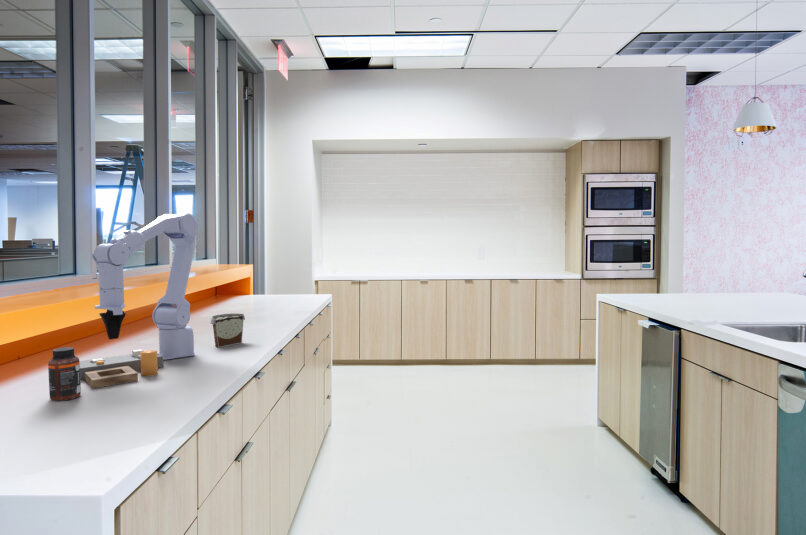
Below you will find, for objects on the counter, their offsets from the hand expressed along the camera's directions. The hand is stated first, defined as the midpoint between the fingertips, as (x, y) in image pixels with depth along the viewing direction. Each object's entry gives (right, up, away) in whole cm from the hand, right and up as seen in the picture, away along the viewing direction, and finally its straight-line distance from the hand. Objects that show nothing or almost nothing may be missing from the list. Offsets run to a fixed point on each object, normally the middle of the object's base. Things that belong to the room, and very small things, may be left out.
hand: (113, 338), depth 135 cm
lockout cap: (+10, -9, -1) cm, 14 cm away
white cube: (-5, -8, +1) cm, 10 cm away
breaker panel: (0, -9, +4) cm, 10 cm away
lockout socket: (+3, -10, -7) cm, 12 cm away
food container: (+17, -7, +37) cm, 42 cm away
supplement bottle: (+1, -11, -20) cm, 23 cm away
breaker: (+3, -7, +7) cm, 11 cm away
